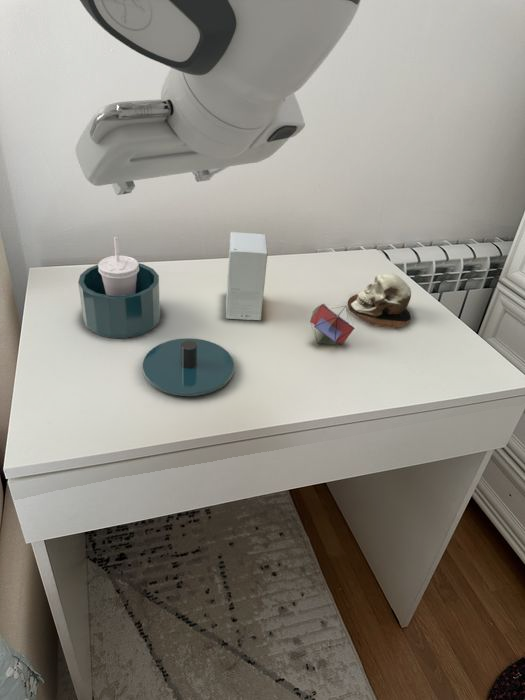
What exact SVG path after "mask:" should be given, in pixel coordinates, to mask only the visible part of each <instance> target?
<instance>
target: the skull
mask: <svg viewBox="0 0 525 700" xmlns="http://www.w3.org/2000/svg"><path fill="white" fill-rule="evenodd" d="M411 298H412V290H411V287H410V285H409V284H408V282H406V281H405V280H404V279H403V278H402V277H401V276H399V275H397V274H395V273H393V272H391V273H390V272H386V273H381V274H378V275H375V277H374V282H371V283H368V284H367V285H366V287H365V288H364V290H362V291H360V292H359V293H357V294H354V295H352V296H350V297H349V298H348V300H347V309H348V310H349V311H350V313H352V314H353V315H354V316H356V317H357V318H358V319H360V320H362V321H363V322H366V323H369V324H370V325H371V326H377V327H382V328H390V329H391V328H396V329H397V328H401V327H405V326H407V325H408V324H409V323H411V320H412V315H411V312H410V311H409V310H408V309H407V307H408V306H409V304H410V302H411Z"/></svg>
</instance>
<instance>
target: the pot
mask: <svg viewBox="0 0 525 700" xmlns="http://www.w3.org/2000/svg"><path fill="white" fill-rule="evenodd" d="M138 263H139V271H138V273H137V280H136V292H135V294H131V295H126V296H109V295H106V292H105V288H104V283H103V280H102V275H101V274H100V273H99V271H98V269H99V268H98V264H96V265H93V266H91V267H88V268H87V269H86V270H84V271H83V272H82V273H80V275H79V278H78V284H77V285H78V291H79V299H80V305H81V314H82V320H83V322H84V325H85V327H86V328H87V329H88V330H89V331H90V332H92V333H93V334H95V335H98V336H101V337H105V338H110V339H129V338H133V337H134V338H135V337H138V336H142V335H144V334H146V333H148V332H150V331H152V330H153V329H155V328H156V326H158V324H159V322H160V320H161V319H160V318H161V303H160V302H161V298H160V275H159V274H158V273H157V271H156V270H155V269H153V268H152V267H150V266H148V265H146V264H144V263H140V262H138Z"/></svg>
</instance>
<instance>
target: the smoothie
mask: <svg viewBox="0 0 525 700" xmlns="http://www.w3.org/2000/svg"><path fill="white" fill-rule="evenodd" d="M113 241H114V242H113V243H114V253H115V254H114V255H111V256H107V257H105V258H102V259H101V260H100V261H99V262H98V264H97V265H98V268H99V269H98V271H99V273H100V274H101V275H102V280H103V283H104V288H105V292H106V295H109V296H126V295H131V294H135V292H136V280H137V273H138V271H139V263H140V262H139V261H138V260H137V259H135V257H131V256H128V255H120V252H119V250H120V249H119V238H118V236H113Z"/></svg>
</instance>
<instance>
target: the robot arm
mask: <svg viewBox="0 0 525 700" xmlns="http://www.w3.org/2000/svg"><path fill="white" fill-rule="evenodd" d="M79 2H80V3H81V4H82V6H83V8H84V9H85V10H86V12H87V13H88V14H89V16H90V17H91V18H92V19H93V20H94V21H95V22H96V23H97V25H99V26H100V27H101V29H103V30H104V31H106V32H107V33H108V34H109V35H110V36H112V37H113V38H114V39H116V40H117V41H119V42H120V43H122V44H123V45H124V46H127V47H128V48H129V49H131V50H133V51H134V52H136V53H137V54H140V55H142V56H144V57H146V58H148V59H149V60H153V61H155V62H157V63H159V64H162V65H164V66H167V67H169V71H168V72H167V75H166V76H165V78H164V80H163V82H162V86H161V91H160V98H159V99H144V100H130V101H129V100H128V101H127V100H126V101H117V102H113V103H109V104H107V105H105V106H103V107H102V108H100V109H99V110H98V111H97V112H96V113H95V114H94V115H93V116H92V117H91V119H90V121H89V122H88V123H87V125H86V127H85V128H84V130H83V132H82V133H81V135H80V137H79V138H78V141H77V143H76V145H75V154H76V158H77V161H78V165H79V167H80V169H81V171H82V173H83V175H84V177H85V179H86V180H87V181H88V182H89V183H90V184H92V185H93V186H96V187H100V186H107V185H112V188H113V190H114V193H115V194H116V196H121V195H126V194H132V192H133V190H134V189H135V187H136V185H135V181H139V180H140V181H141V180H146V179H147V180H148V179H154V178H160V177H167V176H174V175H180V174H181V175H182V174H188V173H192V175H193V176H194V179H195V181H196V182H197V183H199V182H200V183H201V182H208V181H210V180H211V179H212V178H213V177H214V176H215V175H216V174H219V173H221V172H223V171H224V170H226V169H228V168H230V167H235V166H243V165H249V164H257V163H259V162H262V161H264V160H266V159H268V158H270V157H272V156H273V155H274V154H275V153H276V152H277V151H279V150H280V149H281V148H282V147H283V146H284V145H285V144H286V143H287V142H288V141H289V139H291V138H294V137H296V136H297V135H298V134H299V133H301V132H302V131H303V130H304V128H305V127H306V123H305V120H304V117H303V113H302V109H301V107H300V104H299V102H298V99H297V96H296V95H295V93H296V92H297V91H299V90H301V89H302V87H303V86H304V85H305V84H307V82H308V81H309V80H310V78H312V76H313V75H314V74H315V73H316V72H317V70H318V69H320V67H321V66H322V64H323V63H324V61H325V60H327V58H328V56H329V55H330V54H331V52H332V51H333V50H334V48H335V47H336V46H337V44H338V43H339V41H340V40H341V39H342V37H343V36H344V34H345V33H346V31H347V30H348V28H349V26H350V25H351V23H352V21H353V20H354V18H355V16H356V13H357V12H358V10H359V6H360V4H361V0H79Z"/></svg>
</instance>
